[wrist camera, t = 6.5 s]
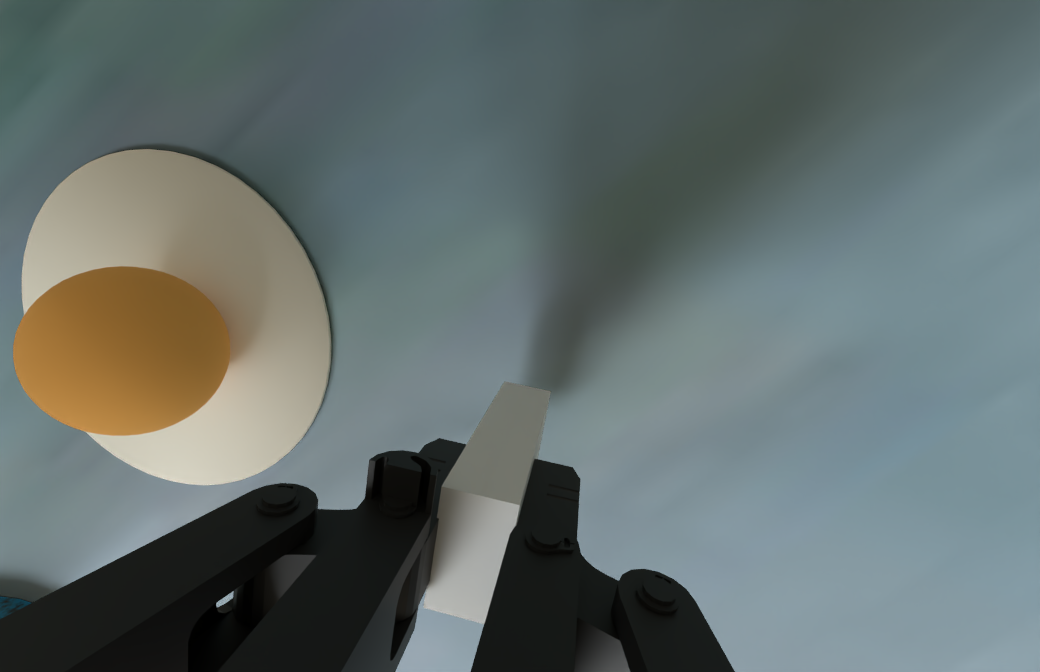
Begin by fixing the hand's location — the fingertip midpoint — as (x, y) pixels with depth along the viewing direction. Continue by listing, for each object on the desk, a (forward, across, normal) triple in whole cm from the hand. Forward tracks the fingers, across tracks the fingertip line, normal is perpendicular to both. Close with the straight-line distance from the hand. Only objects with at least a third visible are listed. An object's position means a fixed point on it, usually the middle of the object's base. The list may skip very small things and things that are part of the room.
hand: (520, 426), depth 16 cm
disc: (+2, +14, 0) cm, 14 cm away
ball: (-1, +13, 0) cm, 13 cm away
